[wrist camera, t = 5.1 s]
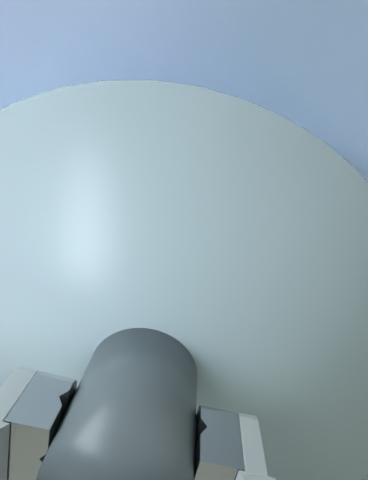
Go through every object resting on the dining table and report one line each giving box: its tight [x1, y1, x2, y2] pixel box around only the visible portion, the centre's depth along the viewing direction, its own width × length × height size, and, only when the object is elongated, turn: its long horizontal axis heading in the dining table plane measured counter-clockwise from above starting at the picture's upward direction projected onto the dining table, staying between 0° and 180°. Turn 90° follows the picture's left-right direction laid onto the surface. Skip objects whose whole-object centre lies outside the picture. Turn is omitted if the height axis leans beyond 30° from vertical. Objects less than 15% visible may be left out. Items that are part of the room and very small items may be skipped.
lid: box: [0, 80, 368, 480], centre depth 9 cm, size 16×16×5 cm
